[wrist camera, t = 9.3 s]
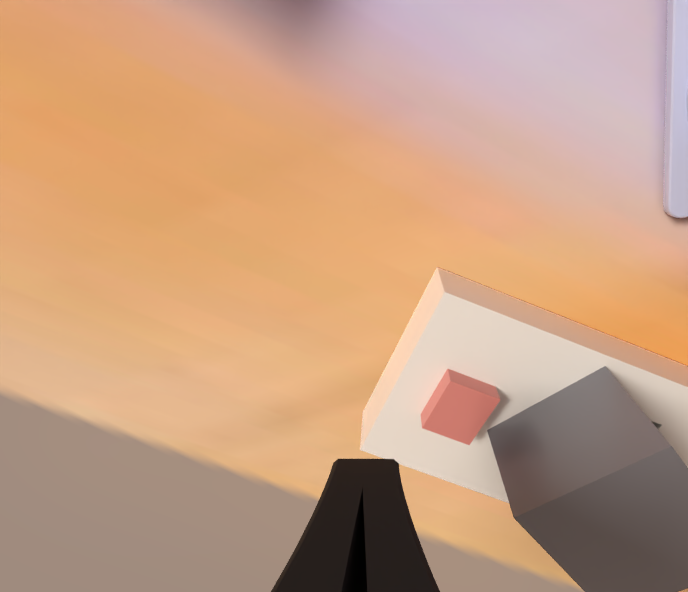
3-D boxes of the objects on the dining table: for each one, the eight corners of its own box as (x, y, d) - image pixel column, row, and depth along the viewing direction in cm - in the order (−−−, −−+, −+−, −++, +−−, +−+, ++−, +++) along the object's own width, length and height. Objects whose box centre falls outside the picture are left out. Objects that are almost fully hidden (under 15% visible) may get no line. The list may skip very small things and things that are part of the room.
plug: (582, 338, 17) (671, 446, 12) (652, 431, 19) (759, 563, 14) (477, 398, 19) (513, 518, 14) (549, 479, 21) (607, 615, 15)
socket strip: (848, 429, 19) (936, 492, 16) (716, 540, 22) (768, 609, 19) (437, 266, 17) (447, 301, 14) (362, 411, 21) (359, 464, 18)
